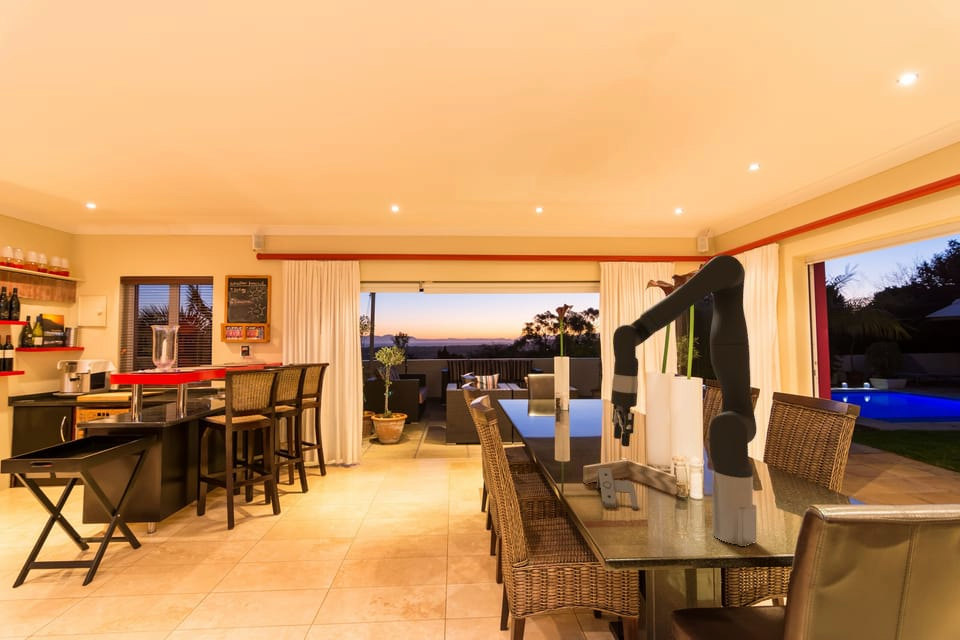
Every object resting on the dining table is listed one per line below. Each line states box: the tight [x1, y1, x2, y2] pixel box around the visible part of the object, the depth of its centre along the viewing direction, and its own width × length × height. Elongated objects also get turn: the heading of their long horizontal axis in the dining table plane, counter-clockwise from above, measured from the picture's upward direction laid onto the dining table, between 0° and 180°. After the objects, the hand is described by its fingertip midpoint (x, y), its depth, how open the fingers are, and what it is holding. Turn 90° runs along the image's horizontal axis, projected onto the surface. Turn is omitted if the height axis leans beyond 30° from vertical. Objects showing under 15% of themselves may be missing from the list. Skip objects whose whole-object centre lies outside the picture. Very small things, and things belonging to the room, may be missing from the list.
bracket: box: [596, 468, 639, 510], centre depth 141 cm, size 10×14×10 cm
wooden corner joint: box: [582, 457, 677, 495], centre depth 152 cm, size 24×22×6 cm
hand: (621, 442), depth 134 cm, fingers open, 8 cm apart
